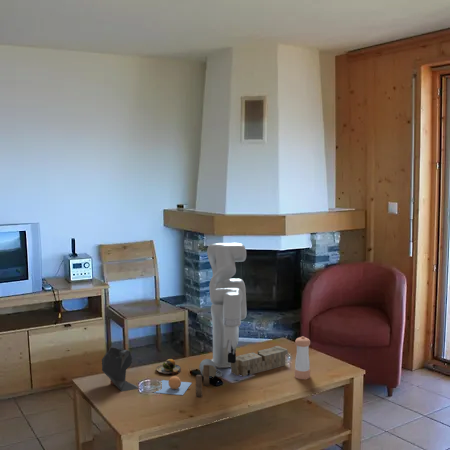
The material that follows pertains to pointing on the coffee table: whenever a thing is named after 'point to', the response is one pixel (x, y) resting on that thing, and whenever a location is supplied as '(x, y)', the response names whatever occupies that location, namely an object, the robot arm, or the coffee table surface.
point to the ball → (174, 382)
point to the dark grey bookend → (118, 367)
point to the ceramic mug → (210, 368)
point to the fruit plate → (169, 367)
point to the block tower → (259, 361)
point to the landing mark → (168, 390)
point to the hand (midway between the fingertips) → (231, 362)
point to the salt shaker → (302, 358)
